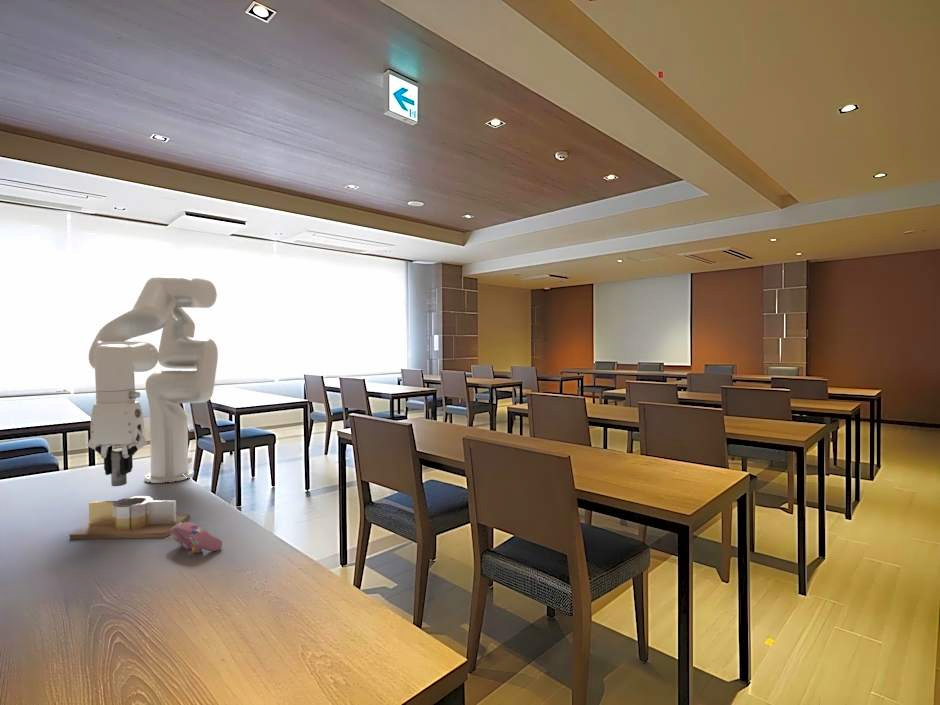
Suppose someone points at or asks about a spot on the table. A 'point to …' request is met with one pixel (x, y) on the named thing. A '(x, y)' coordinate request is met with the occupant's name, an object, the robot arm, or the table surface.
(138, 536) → the mounting board
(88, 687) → the table surface
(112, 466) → the hinge pin
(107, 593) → the table surface
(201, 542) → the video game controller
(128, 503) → the hinge
